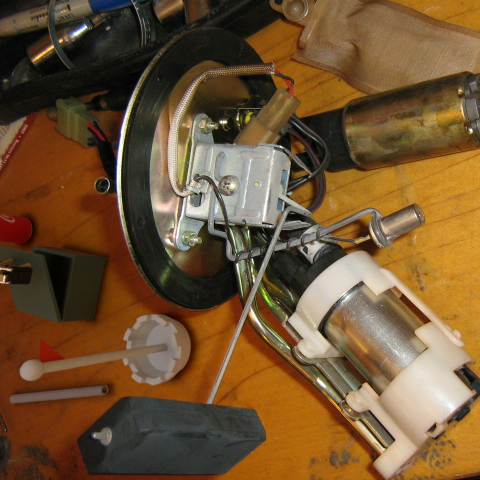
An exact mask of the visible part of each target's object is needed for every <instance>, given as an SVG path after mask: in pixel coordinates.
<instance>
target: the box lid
mask: <svg viewBox="0 0 480 480" xmlns="http://www.w3.org/2000/svg"><path fill="white" fill-rule="evenodd" d="M0 261H3V262H1V263H0V267H4V266H6V265H8V267H5V268H10V266H14V267H31V268H32V269H33V271H32V276H31V281H30V284H7V285H8V288H9V291H10V295H11V298H12V300H13V304H14V307H15V310H16V311H18V312H21V313H24V314H27V315H30V316H35V317H38V318H41V319H44V320H46V321H51V322H54V323H57V324H59V323H62V322H61V321H62V320H61V316H60V312H59V309H58V305H57V301H56V297H55V294H54V290H53V286H52V283H51V279H50V275H49V271H48V268H47V264H46V260H45V256H44V255H41V254H36V253H32V251H28V250H23V249H19V248H15V247H12V246H11V247H10V246H6V245H0ZM3 272H4V271H0V274H3Z"/></svg>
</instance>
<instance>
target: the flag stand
mask: <svg viewBox="0 0 480 480" xmlns="http://www.w3.org/2000/svg"><path fill="white" fill-rule="evenodd" d="M135 319H136V321H135V323H134V325H133V326H131V327H127V329H126V331H125V333H124V335H123V339H122V340H123V341H125V342H126V346H125V347H126V348H125V349H120V350H115V351H114V350H113V351H108V352H102V353H95V354H90V355H82V356H76V357H71V358H65V357H64V356H63V355H61V353H59V352H57V351H56V350H55V349H54V348H53V347H52V346H50V345H49V344H48V343H47V342H45V340H43V339H42V338H39V340H40V342H39V359H35V358H34V359H33V358H32V359H29V360H26V361H24V363H22V365H21V366H20V368H19V375H20V377H21V378H22V379H24V381H29V382H33V381H37V380H38V379H40V378H41V377H42V376H43V375H44V374H48V373H53V372H59V371H65V370H71V369H75V368H80V367H86V366H87V367H88V366H91V365H92V366H93V365H97V364H102V363H107V362H113V361H118V360H119V361H120V360H122V362H123V365H124V367H127V366H129V368H130V370H131V372H132V374H131V376H130V377H131V379H133V380H134V381H135V382H136V383H139V384H140V385H141V384H144V383H145V384H149V385H150V386H156V385H160V384H163V383H166V382H168V381H170V380H172V379H173V378H174V377H176V375H177V374H178V373H179V372H180V371H182V370H183V369H184V368H185V366H186V365H187V363H188V361H189V358H190V356H191V347H192V346H191V345H192V344H191V343H192V342H191V338H190V335H189V332H188V331H187V329H186V328H185V326H184V325H183V324H182V323H181V322H179V321H178V320H176V319H173V318H171V317H169V316H167V315H165V314H161V313H160V314H159V313H155V314H153V313H152V314H145V315H141V316H139V317H138V318H135Z"/></svg>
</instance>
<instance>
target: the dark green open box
mask: <svg viewBox="0 0 480 480" xmlns="http://www.w3.org/2000/svg"><path fill="white" fill-rule="evenodd" d="M31 252H32V253H36V254H41V255H44V256H45V260H46V264H47V268H48V271H49V275H50V279H51V283H52V286H53V290H54V294H55V297H56V301H57V305H58V309H59V312H60V316H61V320H62V321H61V322H60V323H66V322H67V323H69V322H81V321H94V320H95V319H96V318H95V317H96V312H97V307H98V302H99V296H100V291H101V287H102V283H103V282H102V281H103V276H104V271H105V266H106V261H107V257H105V256H101V255H96V254H92V253H89V252H84V251H79V250H74V249H70V248H66V247H65V248H63V247H53V246H42V245H32V249H31Z"/></svg>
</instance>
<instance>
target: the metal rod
mask: <svg viewBox="0 0 480 480" xmlns="http://www.w3.org/2000/svg"><path fill="white" fill-rule="evenodd" d="M109 389H110V388H109V386H108V385H107V384H102V385H101V384H100V385H93V386H92V385H91V386H81V387H73V388H63V389H54V390H43V391H35V392H23V393H16V394H12V395H11V396H10V397H9V403H10V404H12V405H13V404H14V405H15V404H23V403H35V402H46V401H57V400H65V399H66V400H67V399H76V398H87V397H97V396H98V397H99V396H107V394H108V393H109Z"/></svg>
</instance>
